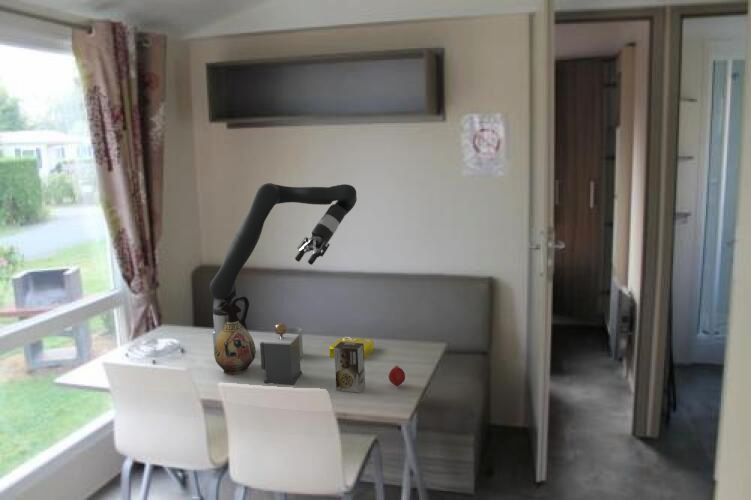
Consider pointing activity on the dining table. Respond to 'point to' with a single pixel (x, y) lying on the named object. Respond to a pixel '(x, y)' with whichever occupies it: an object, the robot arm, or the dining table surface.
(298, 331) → the mug
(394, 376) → the onion
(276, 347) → the gray rectangular box
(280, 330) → the plunger
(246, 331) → the ceramic jug
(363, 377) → the coffee box
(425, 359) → the dining table surface
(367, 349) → the element tile
